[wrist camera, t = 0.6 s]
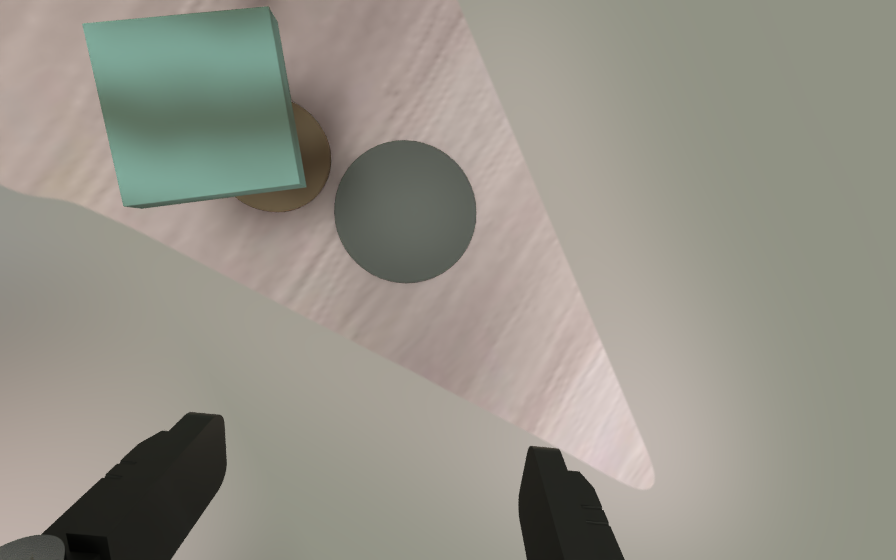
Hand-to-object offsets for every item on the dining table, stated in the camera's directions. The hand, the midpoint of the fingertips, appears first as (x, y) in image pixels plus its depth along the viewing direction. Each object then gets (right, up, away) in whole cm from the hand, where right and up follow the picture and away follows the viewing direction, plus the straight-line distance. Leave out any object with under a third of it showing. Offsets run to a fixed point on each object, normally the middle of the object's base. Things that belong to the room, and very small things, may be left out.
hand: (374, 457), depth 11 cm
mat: (-2, +10, +25) cm, 27 cm away
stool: (-12, +15, +23) cm, 30 cm away
